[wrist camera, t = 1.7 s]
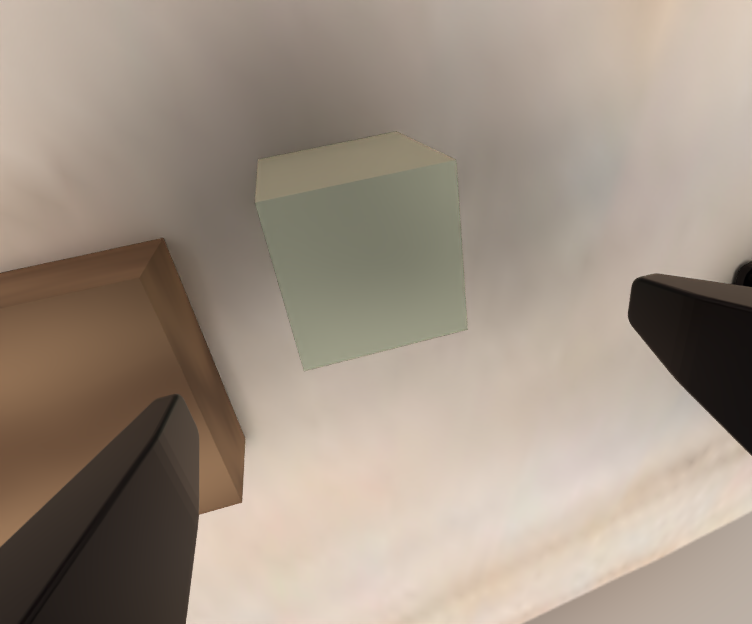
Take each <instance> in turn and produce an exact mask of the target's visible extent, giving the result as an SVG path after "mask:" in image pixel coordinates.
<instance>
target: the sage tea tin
mask: <svg viewBox="0 0 752 624" xmlns="http://www.w3.org/2000/svg"><path fill="white" fill-rule="evenodd" d="M255 205H256V209H257V212H258V215H259V219H260V222H261V226H262V229H263V233H264V236H265V239H266V243H267V246H268V250H269V253H270V256H271V260H272V263H273V267H274V270H275V274H276V277H277V280H278V284H279V287H280V291H281V294H282V298H283V301H284V304H285V308H286V311H287V315H288V318H289V322H290V325H291V328H292V332H293V335H294V339H295V342H296V346H297V349H298V352H299V356H300V359H301V363H302V366H303V370H304V371H308V370H311V369H315V368H319V367H323V366H327V365H331V364H335V363H339V362H343V361H347V360H351V359H355V358H359V357H362V356H366V355H370V354H374V353H378V352H382V351H386V350H390V349H394V348H398V347H402V346H406V345H409V344H413V343H417V342H421V341H425V340H429V339H433V338H437V337H441V336H445V335H449V334H453V333H457V332H460V331H464V330H468V328H467V313H466V298H465V283H464V268H463V253H462V238H461V223H460V208H459V193H458V178H457V163H456V159H453V158H451V157H449V156H447V155H445V154H443V153H441V152H439V151H437V150H434V149H432V148H430V147H428V146H426V145H424V144H422V143H420V142H418V141H416V140H413V139H411V138H409V137H407V136H405V135H403V134H401V133H399V132H397V131H396V132H391V133H386V134H381V135H376V136H371V137H366V138H361V139H356V140H351V141H346V142H341V143H336V144H331V145H327V146H322V147H317V148H312V149H307V150H302V151H297V152H292V153H287V154H282V155H277V156H272V157H267V158H262V159H258V166H257V179H256V192H255Z"/></svg>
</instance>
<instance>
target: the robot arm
mask: <svg viewBox="0 0 752 624" xmlns="http://www.w3.org/2000/svg"><path fill="white" fill-rule="evenodd" d="M628 318H629V322H630V324H631V325H632V327H633V328H634V329H635V330H636V332H637V333H638V334H639V335H640V337H641V338H642V339H643V340H644V341H645V343H646V344H647V345H648V346H649V348H650V349H651V350H652V351H653V352H654V354H655V355H656V356H657V357H658V358H659V360H660V361H661V362H662V363H663V365H664V366H665V367H666V368H667V369H668V371H669V372H670V373H671V374H672V375H673V377H674V378H675V379H676V380H677V381H678V382H679V383H680V384H681V385H682V386H683V387H684V388H685V390H686V391H687V392H688V393H689V394H690V395H691V396H692V397H693V398H694V399H695V400H696V401H697V402H698V403H699V404H700V405H701V406H702V407H703V408H704V409H705V410H706V411H707V412H708V413H709V414H710V415H711V416H712V417H713V418H714V419H715V420H716V421H717V422H718V423H719V424H720V425H721V426H722V427H723V428H724V429H725V430H726V431H727V432H728V433H729V434H730V435H731V436H732V437H733V438H734V439H735V440H736V441H737V442H738V443H739V444H740V445H741V446H742V447H743V448H744V449H745V450H746V451H747V452H748V453H749V454H750V455H751V456H752V263H748V264H746V265H744V266H743V267H742V268H741V269H740V271H739V272H738V275H737V279H736V282H735V285H733V284H726V283H719V282H712V281H705V280H698V279H692V278H685V277H678V276H671V275H664V274H650V275H646V276H642V277H639V278H637V279H635V280H634V282H633V283H632V287H631V294H630V302H629V309H628ZM198 520H199V432H198V429H197V426H196V424H195V421H194V419H193V417H192V415H191V413H190V411H189V409H188V407H187V404H186V402H185V400H184V398H183V397H182V396H181V395H179V394H172V395H168V396H164V397H160V398H157V399H155V400H154V401H153V402H152V403H151V404H150V405H149V406H148V407H146V408H145V409H144V410H143V411H142V412H141V413H140V414H139V415H138V416H137V417H136V418H135V419H134V420H133V421H132V422H131V423H130V424H129V425H128V426H127V427H126V428H124V429H123V430H122V431H121V432H120V433H119V434H118V435H117V436H116V437H115V438H114V439H113V440H112V441H111V442H110V443H109V444H108V445H107V446H106V447H105V448H103V449H102V450H101V451H100V452H99V453H98V454H97V455H96V456H95V457H94V458H93V459H92V460H91V461H90V462H89V463H88V464H87V465H86V466H85V467H84V468H83V469H81V470H80V471H79V472H78V473H77V474H76V475H75V476H74V477H73V478H72V479H71V480H70V481H69V482H68V483H67V484H66V485H65V486H64V487H63V488H62V489H60V490H59V491H58V492H57V493H56V494H55V495H54V496H53V497H52V498H51V499H50V500H49V501H48V502H47V503H46V504H45V505H44V506H43V507H42V508H41V509H40V510H38V511H37V512H36V513H35V514H34V515H33V516H32V517H31V518H30V519H29V520H28V521H27V522H26V523H25V524H24V525H23V526H22V527H21V528H20V529H19V530H17V531H16V532H15V533H14V534H13V535H12V536H11V537H10V538H9V539H8V540H7V541H6V542H5V543H4V544H3V545H2V546H1V547H0V624H186V618H187V610H188V602H189V594H190V586H191V578H192V570H193V562H194V554H195V546H196V538H197V530H198Z"/></svg>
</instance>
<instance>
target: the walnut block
mask: <svg viewBox="0 0 752 624" xmlns="http://www.w3.org/2000/svg"><path fill="white" fill-rule="evenodd" d="M172 394H179V395H181V396H182V397H183V398H184V400H185V402H186V404H187V407H188V409H189V411H190V413H191V415H192V417H193V419H194V421H195V424H196V426H197V429H198V432H199V515H200V514H203V513H207V512H210V511H214V510H217V509H221V508H224V507H228V506H231V505H235V504H238V503H242V494H243V475H244V455H245V437H244V434H243V432H242V430H241V427H240V425H239V422H238V420H237V417H236V415H235V412H234V410H233V407H232V405H231V403H230V400H229V398H228V395H227V393H226V390H225V388H224V385H223V383H222V381H221V378H220V376H219V373H218V371H217V368H216V366H215V363H214V361H213V359H212V356H211V354H210V351H209V349H208V346H207V344H206V341H205V339H204V336H203V334H202V332H201V329H200V327H199V324H198V322H197V319H196V317H195V314H194V312H193V310H192V307H191V305H190V302H189V300H188V297H187V295H186V292H185V290H184V288H183V285H182V283H181V280H180V278H179V275H178V273H177V270H176V268H175V265H174V263H173V261H172V258H171V256H170V253H169V251H168V248H167V246H166V243H165V241H164V239H163V238H160V239H156V240H151V241H146V242H142V243H137V244H133V245H128V246H123V247H119V248H114V249H109V250H105V251H100V252H95V253H91V254H86V255H82V256H77V257H72V258H68V259H63V260H58V261H54V262H49V263H44V264H40V265H35V266H30V267H26V268H21V269H17V270H12V271H7V272H3V273H0V547H1V546H2V545H3V544H4V543H5V542H6V541H7V540H8V539H9V538H10V537H11V536H12V535H13V534H14V533H15V532H16V531H17V530H19V529H20V528H21V527H22V526H23V525H24V524H25V523H26V522H27V521H28V520H29V519H30V518H31V517H32V516H33V515H34V514H35V513H36V512H37V511H38V510H40V509H41V508H42V507H43V506H44V505H45V504H46V503H47V502H48V501H49V500H50V499H51V498H52V497H53V496H54V495H55V494H56V493H57V492H58V491H59V490H60V489H62V488H63V487H64V486H65V485H66V484H67V483H68V482H69V481H70V480H71V479H72V478H73V477H74V476H75V475H76V474H77V473H78V472H79V471H80V470H81V469H83V468H84V467H85V466H86V465H87V464H88V463H89V462H90V461H91V460H92V459H93V458H94V457H95V456H96V455H97V454H98V453H99V452H100V451H101V450H102V449H103V448H105V447H106V446H107V445H108V444H109V443H110V442H111V441H112V440H113V439H114V438H115V437H116V436H117V435H118V434H119V433H120V432H121V431H122V430H123V429H124V428H126V427H127V426H128V425H129V424H130V423H131V422H132V421H133V420H134V419H135V418H136V417H137V416H138V415H139V414H140V413H141V412H142V411H143V410H144V409H145V408H146V407H148V406H149V405H150V404H151V403H152V402H153V401H154V400H155V399H157V398H160V397H164V396H168V395H172Z"/></svg>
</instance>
